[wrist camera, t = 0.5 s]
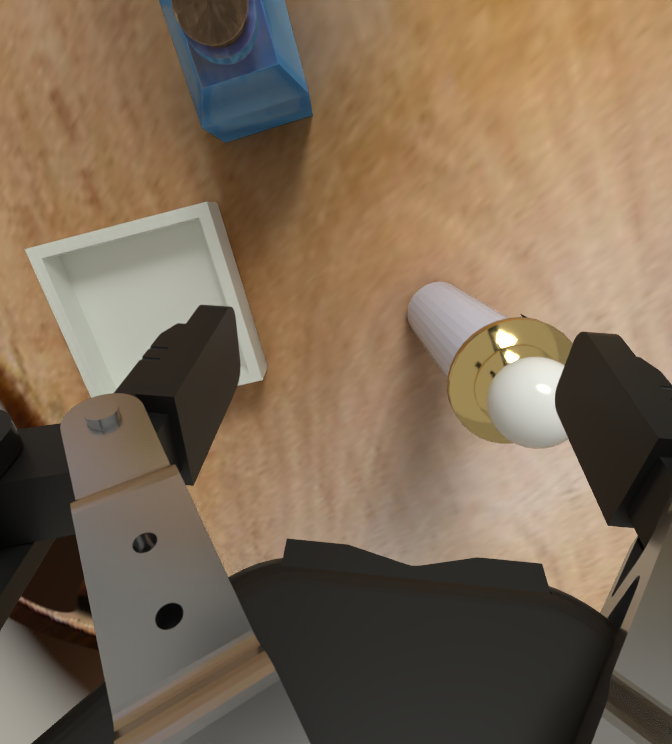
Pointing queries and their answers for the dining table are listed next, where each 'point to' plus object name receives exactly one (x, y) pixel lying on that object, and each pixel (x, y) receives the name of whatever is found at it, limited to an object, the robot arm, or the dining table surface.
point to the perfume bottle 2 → (493, 365)
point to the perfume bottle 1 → (239, 64)
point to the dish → (142, 290)
